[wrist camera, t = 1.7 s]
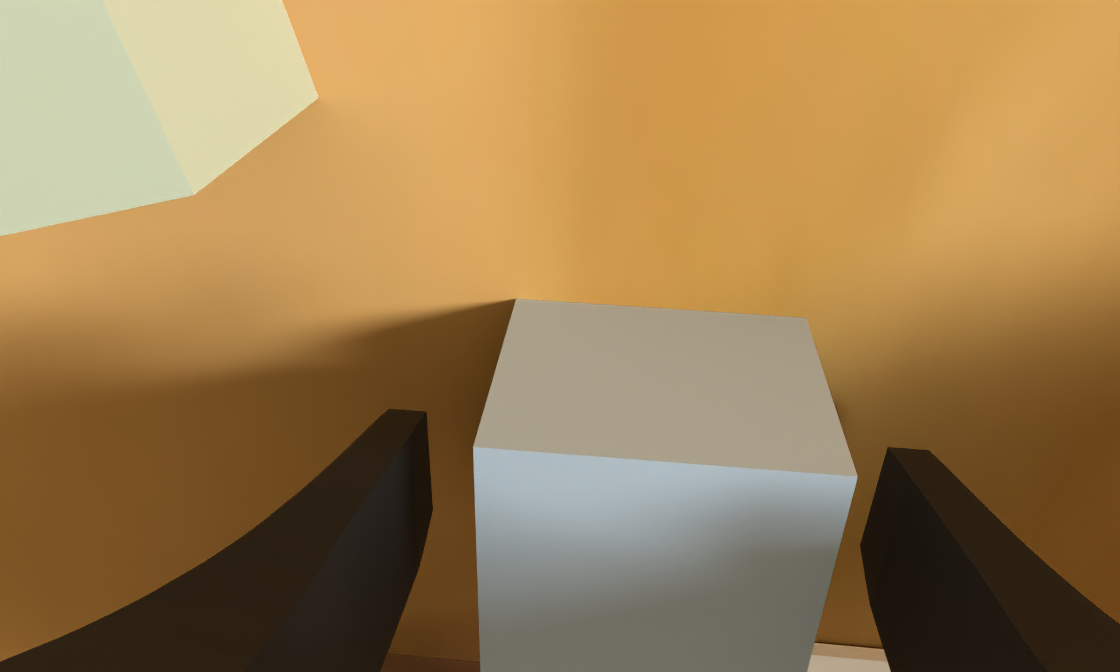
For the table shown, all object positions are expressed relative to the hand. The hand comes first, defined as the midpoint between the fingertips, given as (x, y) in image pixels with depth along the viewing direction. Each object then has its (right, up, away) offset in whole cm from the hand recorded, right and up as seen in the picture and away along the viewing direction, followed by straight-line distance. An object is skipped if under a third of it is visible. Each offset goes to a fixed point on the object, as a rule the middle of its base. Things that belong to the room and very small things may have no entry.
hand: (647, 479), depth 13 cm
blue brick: (0, +1, +1) cm, 2 cm away
